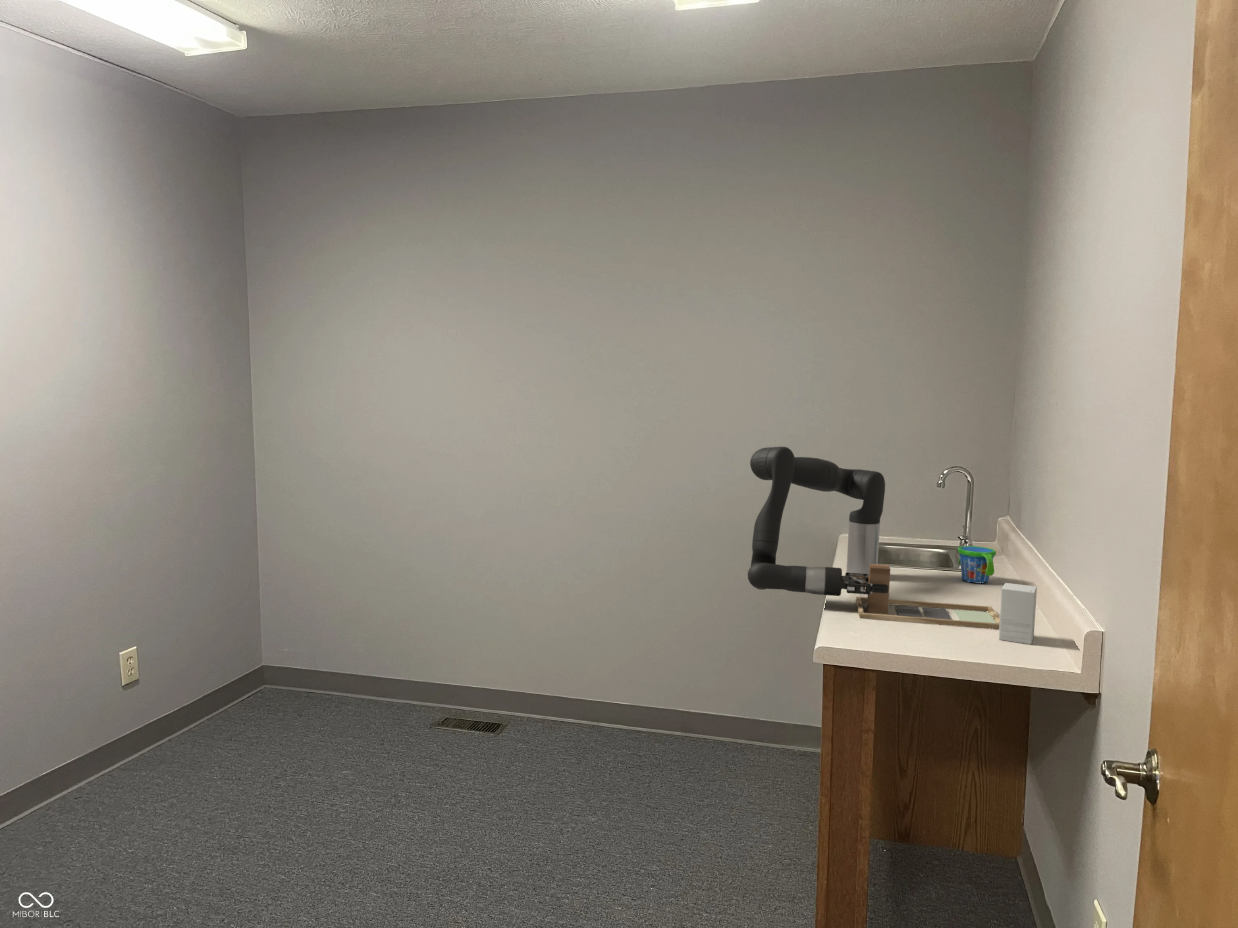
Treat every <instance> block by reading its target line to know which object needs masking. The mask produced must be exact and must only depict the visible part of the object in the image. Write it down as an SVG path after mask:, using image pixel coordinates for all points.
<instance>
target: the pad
mask: <svg viewBox="0 0 1238 928" xmlns="http://www.w3.org/2000/svg"><path fill="white" fill-rule="evenodd" d="M953 612H954V613H955V614H957V615H956V616H957V618H958V619H959V620H960V621H973V622H985V623H996V622H995V620H994V619H993V618H992V616H991V615H990V614H989V612H984V611H972V610H959V609H953Z"/></svg>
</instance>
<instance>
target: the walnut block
mask: <svg viewBox="0 0 1238 928" xmlns="http://www.w3.org/2000/svg"><path fill="white" fill-rule="evenodd" d="M890 581H891V567H890V565H889V564H881V563H879V564H869V579H868V583H873V584H886V585H888V592H887V593H875V592H873V593H870V595H867V596H866V597H867V602H866V611H867V613H872V614H885V615H889V604H888V602H889V599H890V583H891V582H890Z"/></svg>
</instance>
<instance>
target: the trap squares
mask: <svg viewBox="0 0 1238 928" xmlns="http://www.w3.org/2000/svg"><path fill="white" fill-rule="evenodd" d="M894 608H895V611H896V614H897V616H910V617H922V618H924V617H923V614H924V616H925V618H935V619H948V620H953V619H952V618H951V616H950V614H949V612H948V611H947V610H948V609H946V608H933V607H921V609H922V611H923V614H922V612H921V610H920V606H907V605H894Z"/></svg>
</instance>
